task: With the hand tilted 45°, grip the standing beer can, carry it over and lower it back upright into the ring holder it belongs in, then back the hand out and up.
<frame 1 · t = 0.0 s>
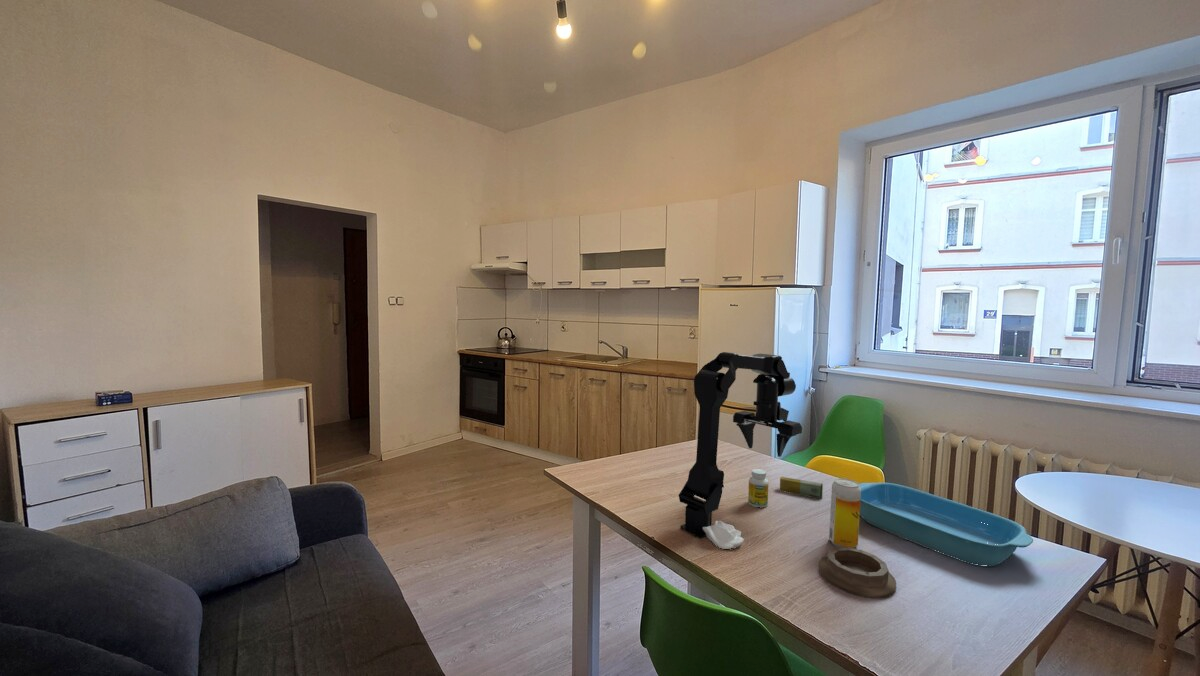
hand: (764, 452, 131), 15 cm above the table, tool pointing down, fingers open, 9 cm apart
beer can: (843, 544, 110), on the table
can holder: (856, 577, 96), on the table
supplement bottle: (757, 504, 131), on the table
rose: (722, 540, 110), on the table, touching arm
casserole dish: (930, 536, 115), on the table
medication box: (800, 494, 140), on the table
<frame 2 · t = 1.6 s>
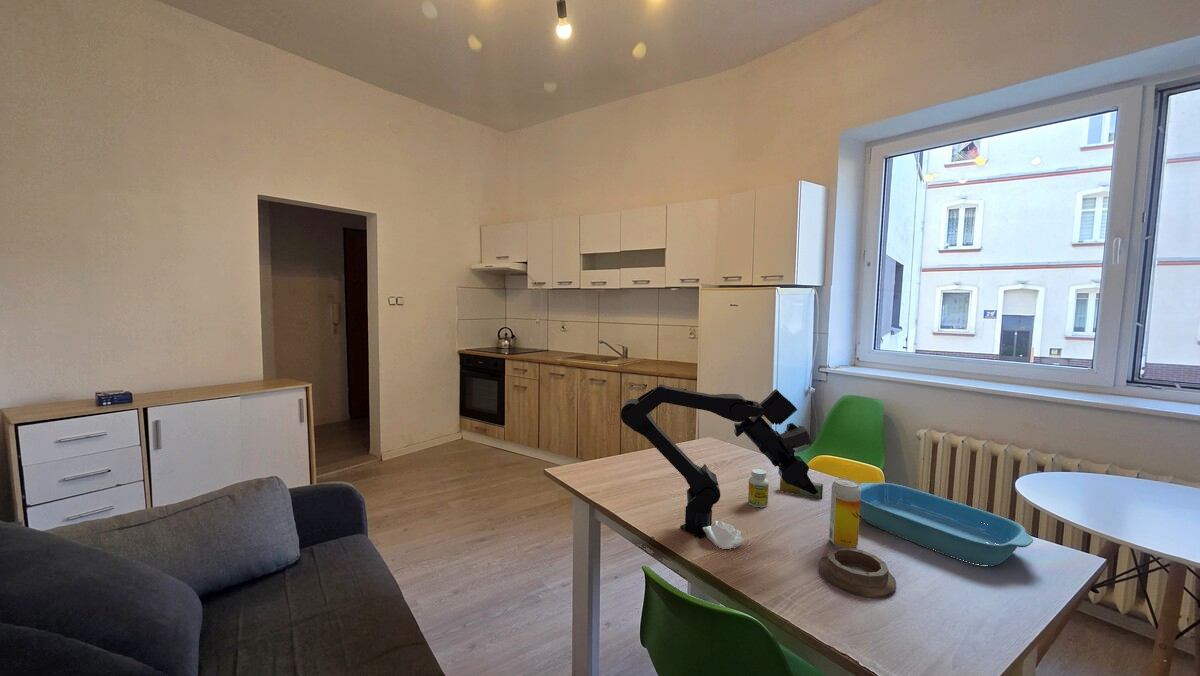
hand: (810, 485, 110), 13 cm above the table, tool tilted 45°, fingers open, 9 cm apart
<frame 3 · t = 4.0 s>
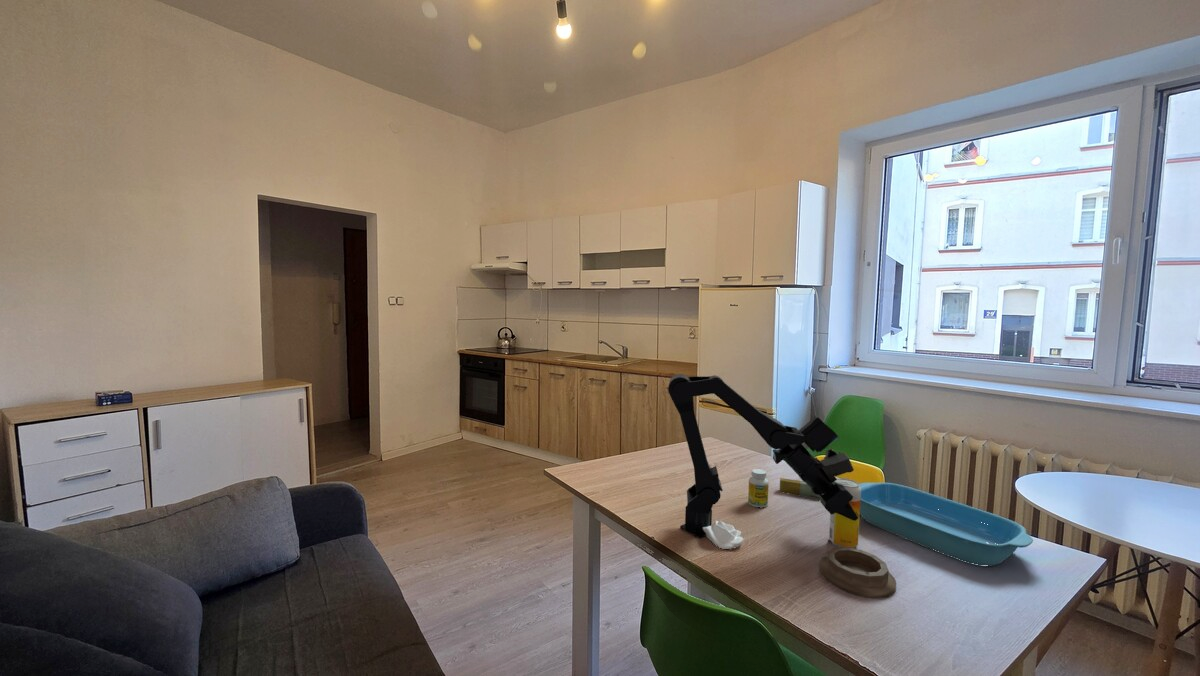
hand: (851, 513, 109), 8 cm above the table, tool tilted 45°, fingers closed on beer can, 6 cm apart
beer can: (843, 544, 110), on the table, touching gripper
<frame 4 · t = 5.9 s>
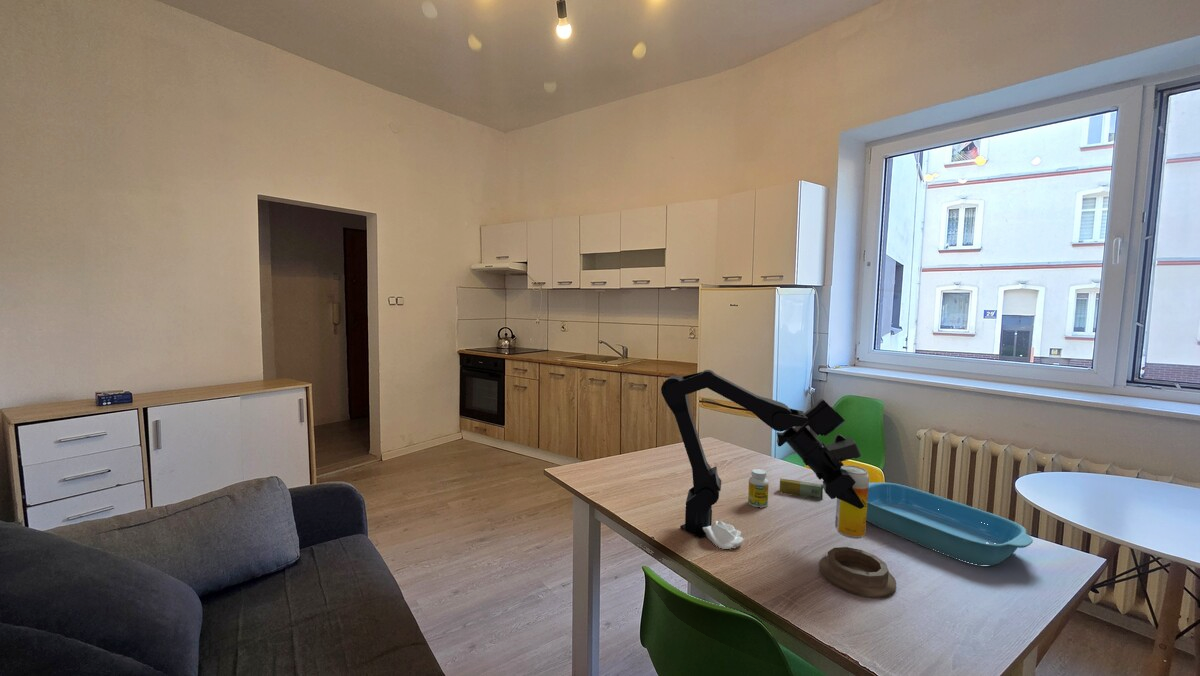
hand: (858, 501, 104), 12 cm above the table, tool tilted 45°, fingers closed on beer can, 6 cm apart
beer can: (849, 534, 105), point 4 cm above the table, touching gripper
when the fingers open (10 cm above the table, at t = 7.8 s): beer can drops 1 cm, resting on can holder.
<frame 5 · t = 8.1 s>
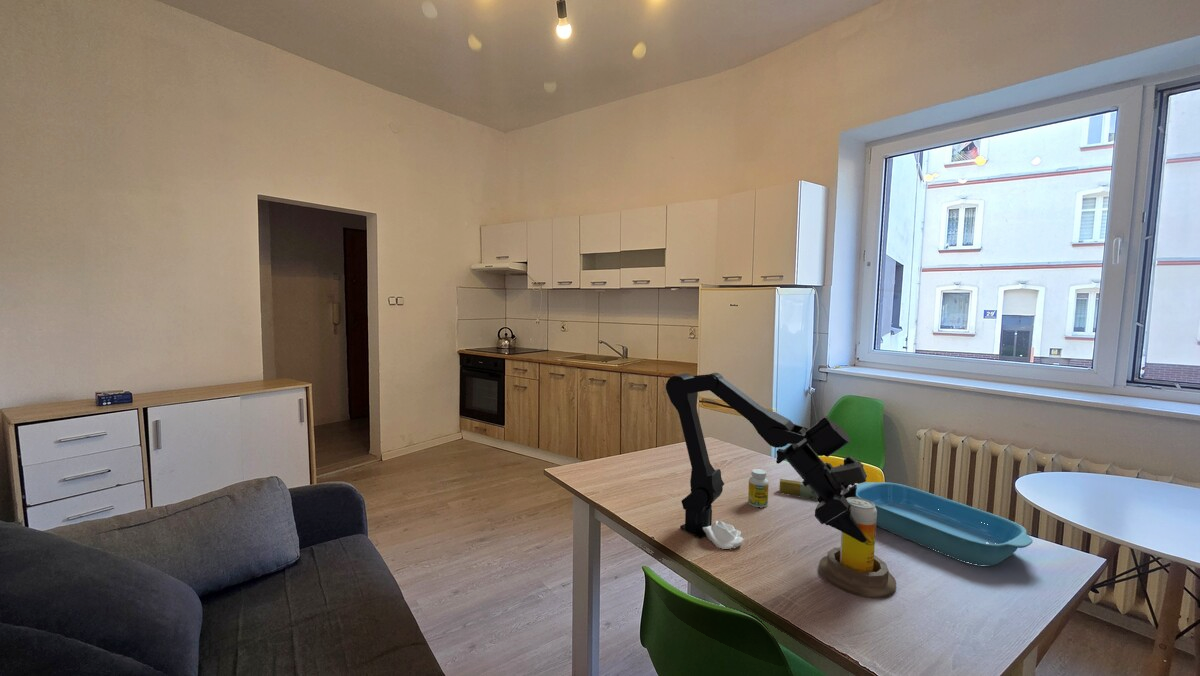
hand: (866, 532, 94), 10 cm above the table, tool tilted 45°, fingers open, 9 cm apart
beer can: (855, 573, 96), point 1 cm above the table, touching can holder
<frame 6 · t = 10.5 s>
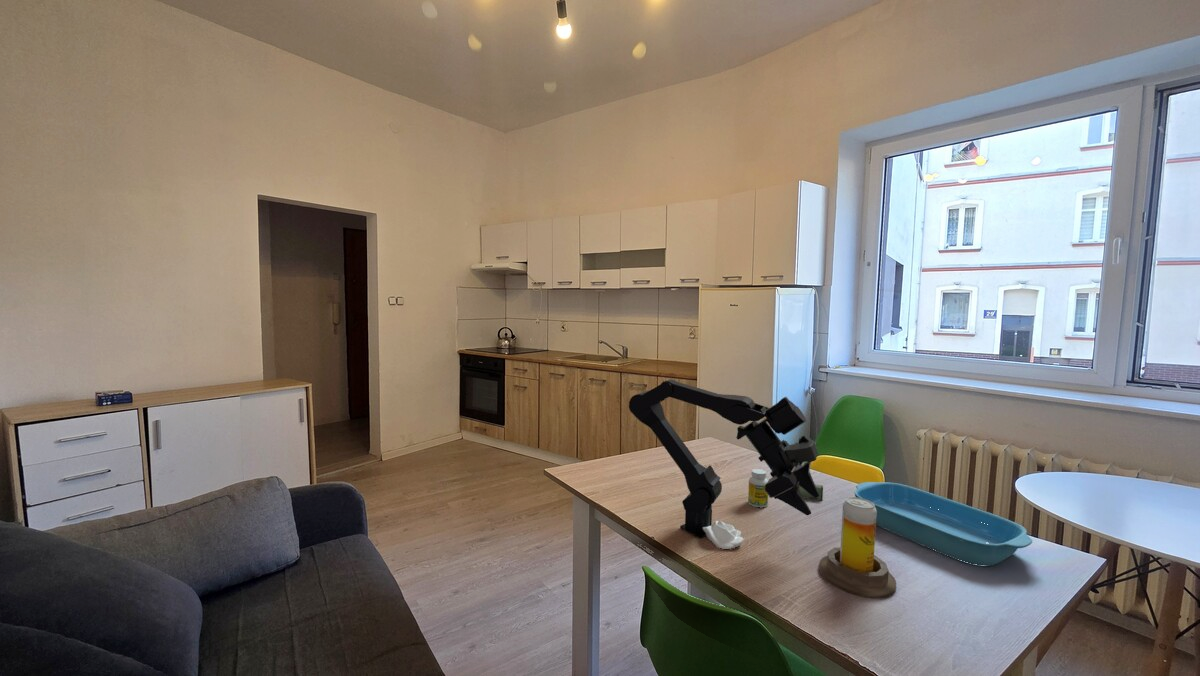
hand: (813, 505, 102), 12 cm above the table, tool tilted 40°, fingers open, 9 cm apart
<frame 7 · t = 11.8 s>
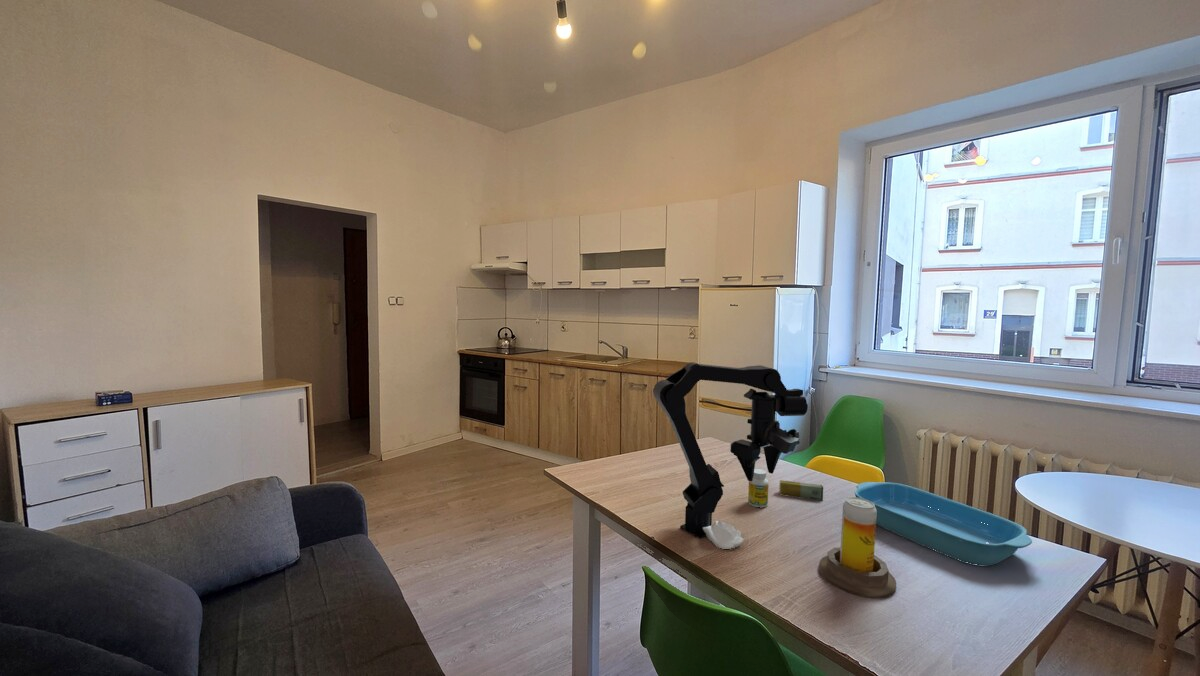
hand: (760, 476, 116), 13 cm above the table, tool pointing down, fingers open, 9 cm apart
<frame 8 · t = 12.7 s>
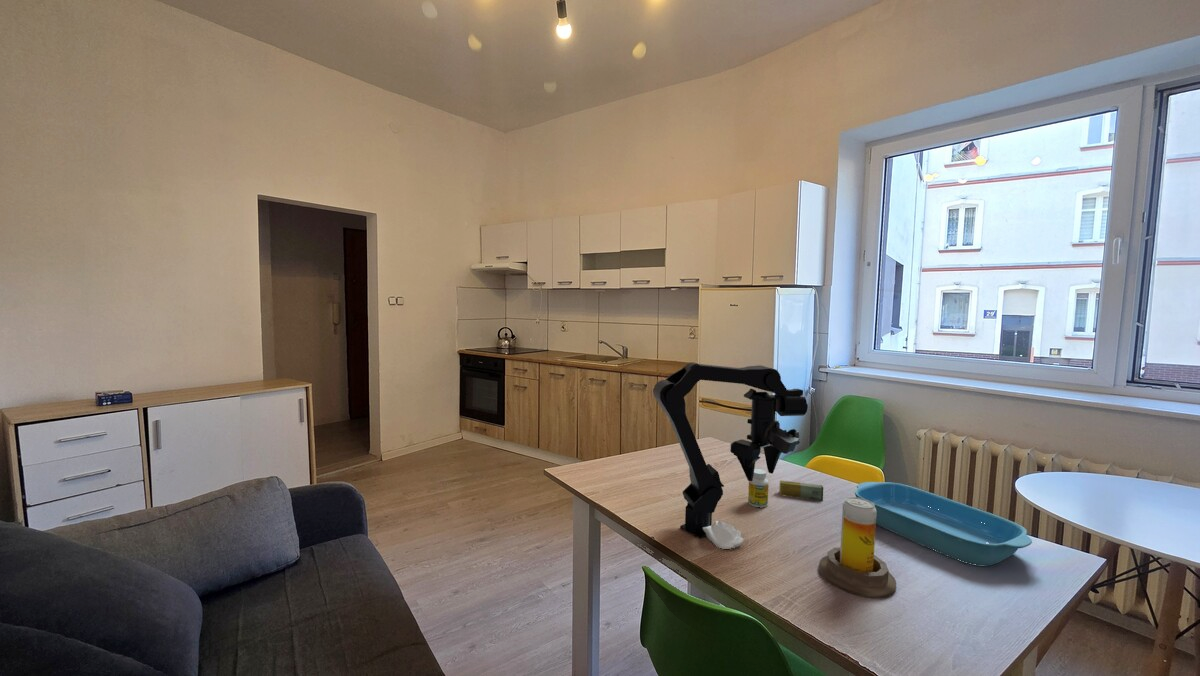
hand: (760, 476, 116), 13 cm above the table, tool pointing down, fingers open, 9 cm apart
at the end: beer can 0.1 cm off-centre on the can holder, point 0.8 cm above the can holder's base; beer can tilted 0°; the gripper is holding nothing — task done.
